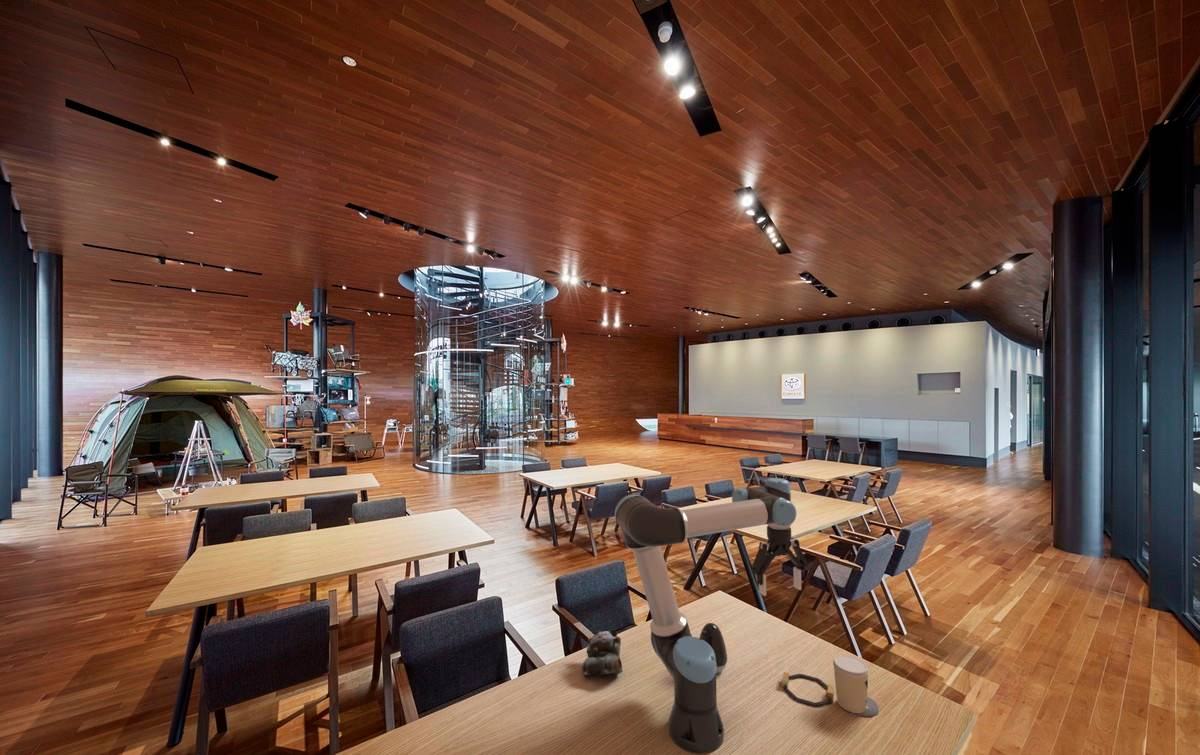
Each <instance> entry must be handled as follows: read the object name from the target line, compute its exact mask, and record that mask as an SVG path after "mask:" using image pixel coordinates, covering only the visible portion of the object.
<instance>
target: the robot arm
mask: <svg viewBox="0 0 1200 755" xmlns="http://www.w3.org/2000/svg"><path fill="white" fill-rule="evenodd" d="M791 492H792V491H791V485H790V482H789V480H787V479H785V478H777V477H772V478H767V479H766V481H765V485H763V486H750V487H749V486H748V487H745V486H744V487H741V488H739V487H738V488H735V489H734V490H733V492H732V494H731V502H728V503H722V504H721V503H720V504H713V505H708V506H707V505H706V506H701V507H695V508H686V509H680V508H679V507H668V508H667V507H661V506H657V505H656V504H654V503H652V502H651V501H650V500H649V499H647V497H645V496H643V495H639V494H635V493H634V494H629V495H626V496H624V497H623V498H621V499H620V500H619V501H618V503H617V504H616V506H615V510H614V520H615V522H616V524H617V526H618V527H619V528H620V530H621V533H622V537H623V540H624V543H625V546H626V548H627V549H629V550H632V553H633V556H634V560H635V563H636V566H637V570H638V573H639V577H640V579H641V583H642V587H643V591H644V595H645V598H646V600H647V601H646V602H647V605H648V608H649V611H650V614H651V618H652V620H651V622H650V625H649V628H650V642H651V646H652V649H653V651H654V652H655V654H656V656H657V657H658V658H659V659H660V661H661V662H662V664H663V665H664V666H665V668H666V670H667V672H668V673H669V675H670V676H671V678H672V679H673V683H674V684H673V690H674V691H673V695H674V698H673V699H674V700H673V704H672V708H671V711H670V714H669V717H668V734H669V736H670V738H671V739H672V741H673V742H674V743H675V744H676V745H677V746H678V747H679V748H681V749H683V750H685V751H687V752H691V753H694V754H695V753H696V754H707V753H711V752H715V751H716V750H717V749H719V748H720V747H721V746H722V744H723V742H724V738H725V734H724V730H725V729H724V723H723V721H722V718H721V715H720V711H719V709H718V704H717V697H718V695H717V673H716V670H717V665H716V658H715V653H714V651H713V649H712V647H711V646H710V645H709V644H708V643H707V642H705V641H704V640H699V637H697V636H693V634H691V630H690V626H689V624H688V619H687V616H686V615H685V614H684V613H683V612H680V610H679V605H678V603H677V602H678V601H677V599H676V595H675V592H674V589H673V586H672V582H671V578H670V575H669V571H668V568H667V564H666V561H665V558H664V554H663V551H662V547H664V546H670V545H676V544H682V543H684V542H686V540H687V539H688V538H689V539H690V538H695V537H699V536H706V535H707V536H708V535H712V534H713V535H714V534H717V533H724V532H731V531H735V530H742V529H745V528H747V529H748V528H752V527H753V528H754V527H757V526H758V527H759V526H764V525H767V526H766V537H767V542H762V541H759V543H758V550H757V552H756V555H755V557H754V558H755V559H754V561H753V563H752V566H751V568H750V570H751V572H753V573H754V574H755V575H756V583H757V584H758V593H759V594H760V595H762V596H763V597H766V596H767V576H766V574H765V572H766V571H767V569H768V568H769V566H770V565H771V563H772V562H773V560H774V559H775V558H776V557H781V556H786V557H788V558H789V559H790V561H791V563H792V564H793V565H794V567H793V569H792V570H793V571H792V572H793V587H794V588H795V589H796V590H797V589H798V590H799V591H801V590H802V579H803V571H804V570H806V568H807V567H808V566H809V564H808V562H807V559H806V557H805V555H804V553H803V551H802V548H801V546H800V540H798V539H796V538H794V537H792V528H791V527H792V524H793V523H795V520H796V518H797V508H796V506H795V505H794V503H792V502H791V501H792V500H791V499H792V497H791V494H792V493H791ZM791 547H792V549H793V551H794V552H793V551H792V550H791ZM794 554H795V555H794Z"/></svg>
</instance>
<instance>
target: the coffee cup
mask: <svg viewBox="0 0 1200 755" xmlns="http://www.w3.org/2000/svg"><path fill="white" fill-rule="evenodd" d="M832 664H833V670H834V682H835V692H836V701H837V704H839V706H840V707H841V708H843V709H844V710H845V711H848V712H849V713H852V712H853V714H854V713H863V712H865V711H866V706H867V696H868V690H869V689H868V687H869V684H868V683H869V674H870V673H869V672H870V671H869V668H868V666H867V664H866V663H865V662H864V661H862V660H861V659H859V658H857V657H854V656H851V655H845V654H841V655H837V656H835V658H834V659H833V662H832Z"/></svg>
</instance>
